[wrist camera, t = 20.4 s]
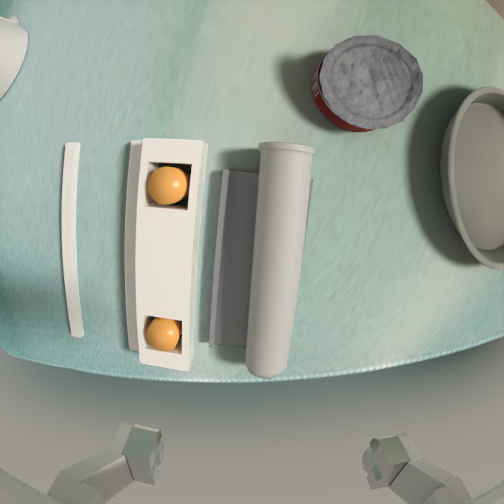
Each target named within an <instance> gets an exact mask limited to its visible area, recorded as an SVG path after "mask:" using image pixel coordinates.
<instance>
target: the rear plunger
mask: <svg viewBox="0 0 504 504" xmlns="http://www.w3.org/2000/svg"><path fill="white" fill-rule="evenodd" d="M181 333H182V321H180V320H173V319H167V318H160V317H155V318H154V319H153V321H152V322H151V324H150V326H149V327H148V329H147V331H146V338H147V341H148V343H149V344H150V345H151V346H152V347H153V348H155V349H156V350H159V351H170V350H172V349H174V348H175V346H176V344H177V342H178V340H179V337H180V335H181Z"/></svg>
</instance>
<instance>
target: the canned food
mask: <svg viewBox="0 0 504 504" xmlns="http://www.w3.org/2000/svg"><path fill="white" fill-rule="evenodd" d="M422 86H423V74H422V71H421V69H420V67H419V64H418V62H417V59H416V58H415V57H414V56H413V55H411V54H410V53H409V52H408V51H407V50H406V49H405V48H403V47H402V46H401V45H400V44H398V43H396V42H393V41H390V40H388V39H385V38H382V37H379V36H376V35H375V36H353V37H351V38H349V39H346V40H344V41H342V42H340V43H338V44H336V45H335V46H334V47H333V48H332V49H331V50H330V51H328V52H327V53H326V54H325V55H324V56H323V58H322V59H321V61H320V63H319V65H318V66H317V67H316V69H315V71H314V73H313V77H312V93H313V97H314V99H315V102H316V104H317V106H318V107H319V109H320V111H321V112H322V113H323V114H324V115H325V116H326V118H328V119H329V120H330V121H331V122H333V123H334V124H335V125H337V126H339V127H341V128H343V129H346V130H349V131H354V132H367V131H371V130H374V129H379V128H388V127H390V126H392V125H394V124H396V123H398V122H401V121H403V120H404V119H405V118H406V116H407V115H408V114H409V113H410V112H411V111H412V110H413V109H414V108H415V107H416V105H417V102H418V100H419V98H420V96H421V94H422Z"/></svg>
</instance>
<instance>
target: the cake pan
mask: <svg viewBox="0 0 504 504" xmlns="http://www.w3.org/2000/svg"><path fill="white" fill-rule="evenodd" d="M440 170H441V184H442V191H443V196H444V200H445V204H446V207H447V210H448V213H449V216H450V218H451V220H452V222H453V224H454V226H455V228H456V230H457V231H458V232H459V234H460V235H461V236H462V238H463V240H464V242H465V244H466V246H467V248H468V249H469V251H470V252H471V253H472V255H473V256H474V257H475V258H476V259H477V260H478V261H479V262H481V263H482V264H483V265H485V266H487V267H489V268H492V269H498V270H502V269H504V90H502V89H500V88H496V87H481V88H479V89H476V90H474V91H473V92H472V93H470V94H469V95H468V96H467V97H466V98H465V100H464V101H463V102H462V104H461V105H460V107H459V109H458V111H457V112H456V113H455V114H454V116H453V117H452V119H451V120H450V122H449V124H448V127H447V129H446V132H445V135H444V139H443V143H442V149H441V162H440ZM493 242H494V243H495V244H494V243H493ZM497 245H498V246H497Z"/></svg>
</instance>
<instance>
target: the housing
mask: <svg viewBox="0 0 504 504" xmlns="http://www.w3.org/2000/svg"><path fill="white" fill-rule="evenodd" d="M80 145H81V143H77V142H71V143H66V146H65V156H64V168H63V183H62V254H63V270H64V281H65V291H66V300H67V308H68V315H69V322H70V328H71V334H72V336H74V337H78V338H81V337H82V336H83V335H84V328H83V321H82V313H81V304H80V295H79V284H78V270H77V250H76V198H77V179H78V165H79V154H80ZM207 151H208V144H207V143H205V142H204V141H202V140H184V139H154V138H143V141H131V149H130V158H129V169H128V180H127V195H126V214H125V295H126V314H127V329H128V341H129V350H133V351H138V352H139V357H140V363H143V364H148V365H154V366H159V367H165V368H170V369H177V370H183V371H189V369H190V365H191V362H192V359H193V355H194V323H195V299H196V280H197V263H198V248H199V235H200V222H201V211H202V200H203V189H204V179H205V169H206V160H207ZM159 163H164V164H182V165H192V168H191V178H190V188H189V199H188V206H180V205H163V204H155V202H156V201H154V200H153V199H152V197H151V196H150V194H149V191H148V181H149V178H150V176H151V175H152V173H153V172H154V171H155V170H157V169H158V166H159ZM153 316H154V317H160V318H167V319H173V320H180V321H182V338H179V340H178V342H177V344H176V346H175V348H174V349H172V350H170V351H159V350H156V349H155V348H153V347H152V346H151V345H150V344H149V343H148V341H147V338H146V331H147V329H148V327H149V326H150V324H151V322H152V321H153Z"/></svg>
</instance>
